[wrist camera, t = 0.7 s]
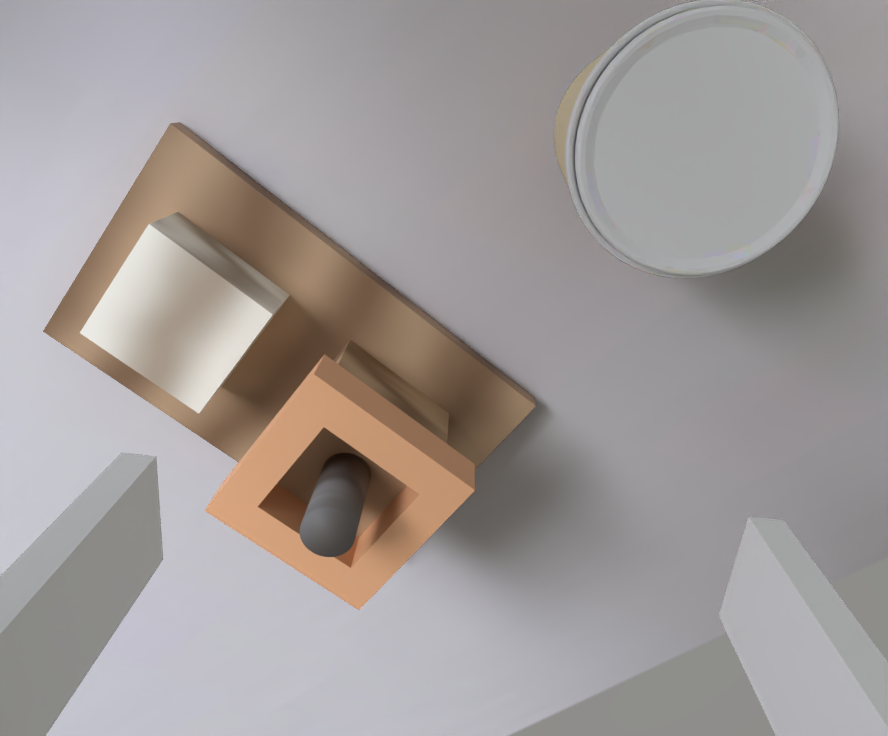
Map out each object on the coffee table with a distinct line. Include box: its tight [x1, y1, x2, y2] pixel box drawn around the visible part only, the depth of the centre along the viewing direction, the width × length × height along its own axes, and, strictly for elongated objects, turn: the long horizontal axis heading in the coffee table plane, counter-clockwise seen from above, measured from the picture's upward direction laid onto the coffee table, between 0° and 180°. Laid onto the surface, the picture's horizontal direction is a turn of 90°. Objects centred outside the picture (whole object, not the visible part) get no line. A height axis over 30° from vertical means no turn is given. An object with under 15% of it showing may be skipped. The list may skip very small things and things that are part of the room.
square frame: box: [205, 354, 475, 610], centre depth 33 cm, size 9×9×2 cm
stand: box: [43, 123, 536, 557], centre depth 34 cm, size 24×14×12 cm, turn 51°
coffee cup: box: [554, 0, 839, 278], centre depth 29 cm, size 9×9×12 cm
